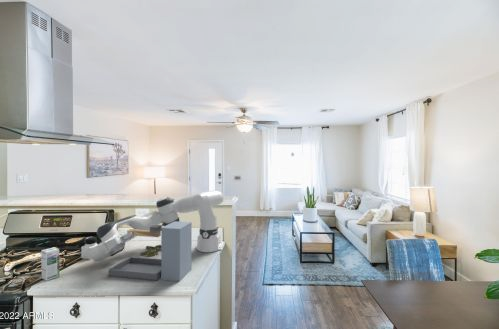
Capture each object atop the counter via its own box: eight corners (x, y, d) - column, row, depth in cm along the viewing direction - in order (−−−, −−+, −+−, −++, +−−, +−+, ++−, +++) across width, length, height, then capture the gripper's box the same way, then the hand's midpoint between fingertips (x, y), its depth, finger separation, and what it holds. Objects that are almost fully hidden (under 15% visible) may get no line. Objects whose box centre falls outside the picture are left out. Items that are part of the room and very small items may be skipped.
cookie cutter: (147, 247, 176) (147, 245, 176) (165, 247, 177) (165, 244, 177) (138, 257, 158) (138, 254, 158) (158, 257, 159) (158, 253, 159)
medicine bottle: (100, 255, 160) (100, 236, 160) (89, 259, 153) (89, 239, 153) (91, 254, 162) (91, 235, 162) (81, 258, 156) (81, 238, 156)
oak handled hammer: (131, 233, 142) (131, 223, 142) (161, 235, 139) (161, 224, 138) (126, 235, 137) (125, 225, 137) (156, 237, 134) (156, 227, 134)
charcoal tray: (130, 262, 150) (130, 256, 150) (173, 266, 145) (173, 260, 145) (108, 276, 132) (108, 269, 132) (156, 281, 127) (156, 273, 127)
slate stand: (174, 268, 142) (174, 221, 142) (191, 269, 141) (191, 222, 140) (161, 279, 129) (161, 227, 128) (179, 281, 127) (180, 228, 126)
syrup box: (46, 281, 126) (46, 251, 126) (41, 278, 129) (41, 249, 129) (59, 276, 131) (59, 248, 131) (54, 274, 134) (54, 246, 134)
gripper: (130, 242, 151) (148, 232, 149) (104, 255, 131) (125, 243, 129) (125, 233, 152) (143, 222, 149) (99, 244, 131) (119, 232, 129)
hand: (135, 232), depth 139 cm, fingers closed on oak handled hammer, 3 cm apart
